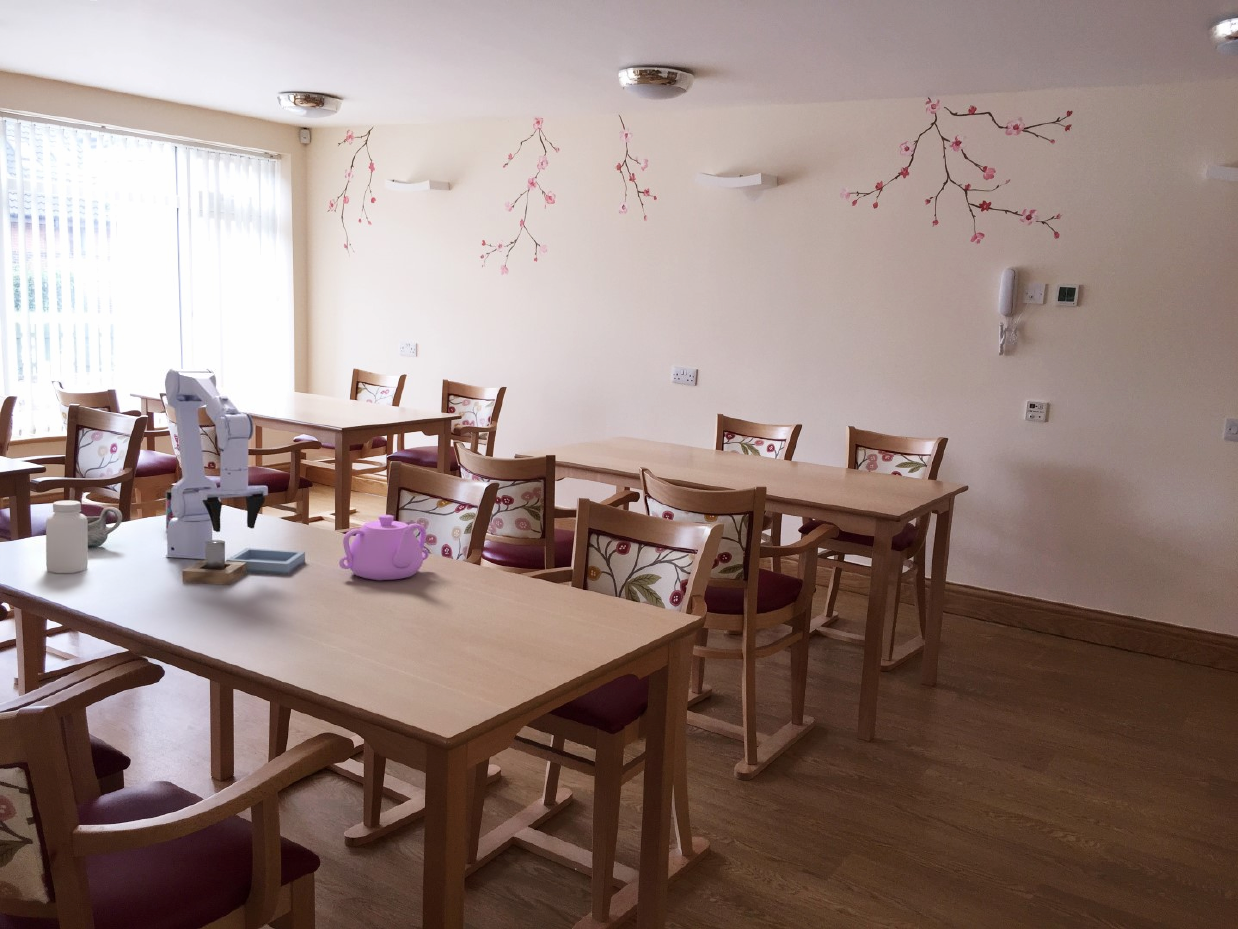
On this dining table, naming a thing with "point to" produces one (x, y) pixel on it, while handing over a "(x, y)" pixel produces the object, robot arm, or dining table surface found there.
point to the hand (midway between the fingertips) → (233, 529)
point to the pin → (215, 554)
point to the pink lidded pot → (384, 549)
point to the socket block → (214, 573)
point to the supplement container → (168, 506)
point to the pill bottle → (66, 538)
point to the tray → (269, 560)
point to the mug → (101, 527)
